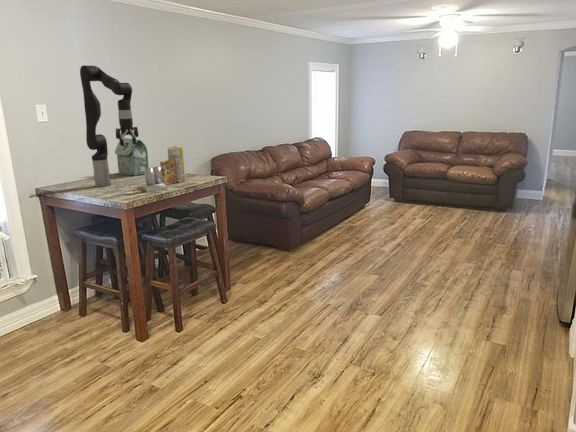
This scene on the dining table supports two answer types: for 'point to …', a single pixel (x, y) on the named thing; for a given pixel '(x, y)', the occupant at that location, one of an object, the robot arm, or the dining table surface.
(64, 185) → the dining table surface
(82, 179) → the dining table surface
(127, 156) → the lunch bag
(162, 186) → the grey l-shaped block
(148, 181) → the spacer
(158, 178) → the spacer
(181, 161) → the juice carton
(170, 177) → the candy box
